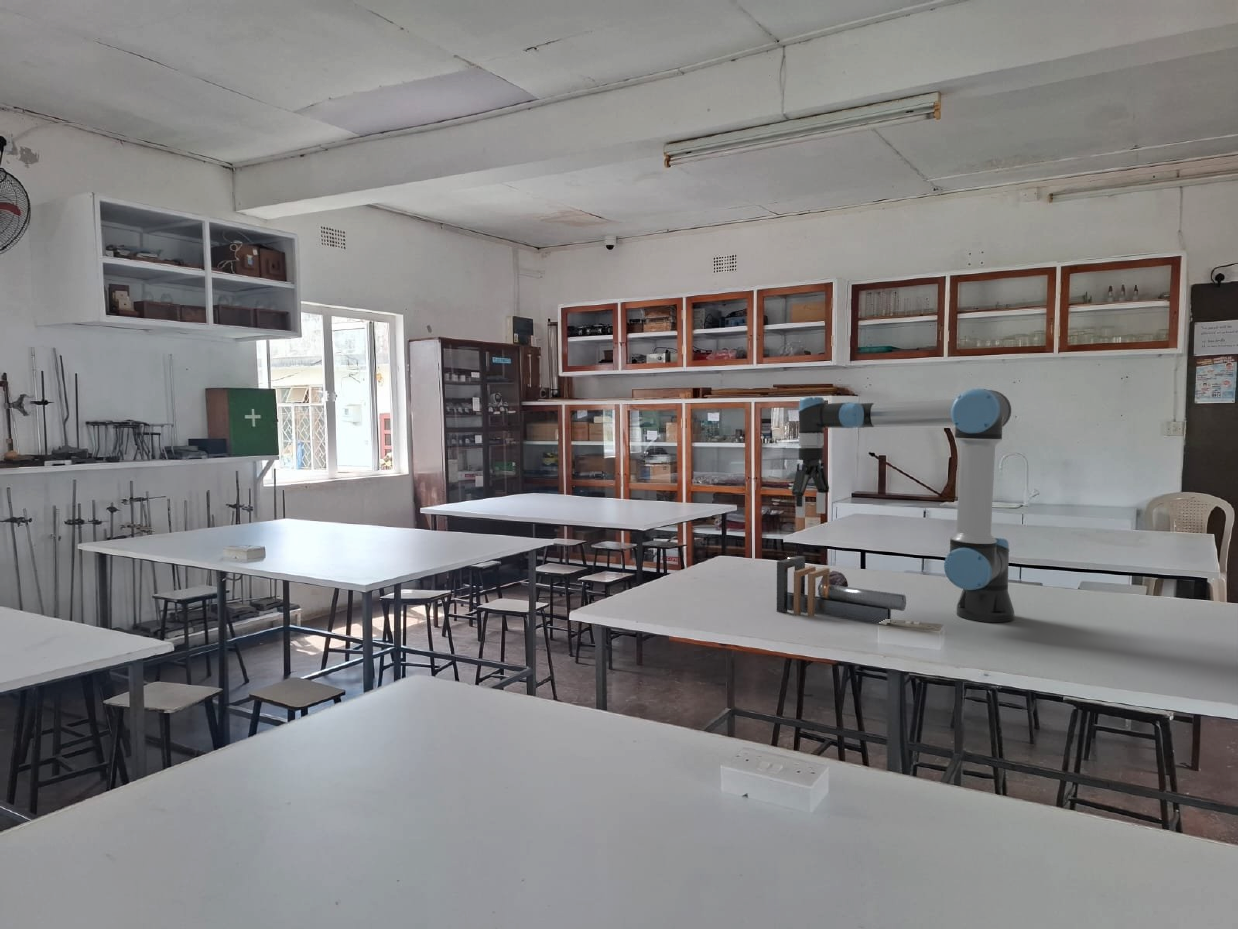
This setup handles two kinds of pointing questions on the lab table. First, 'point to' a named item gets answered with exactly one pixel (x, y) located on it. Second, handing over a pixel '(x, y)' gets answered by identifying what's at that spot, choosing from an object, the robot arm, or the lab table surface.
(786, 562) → the dark grey u-shaped frame
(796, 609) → the collar
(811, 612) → the collar
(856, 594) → the tube
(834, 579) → the rock
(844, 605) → the rail cradle
